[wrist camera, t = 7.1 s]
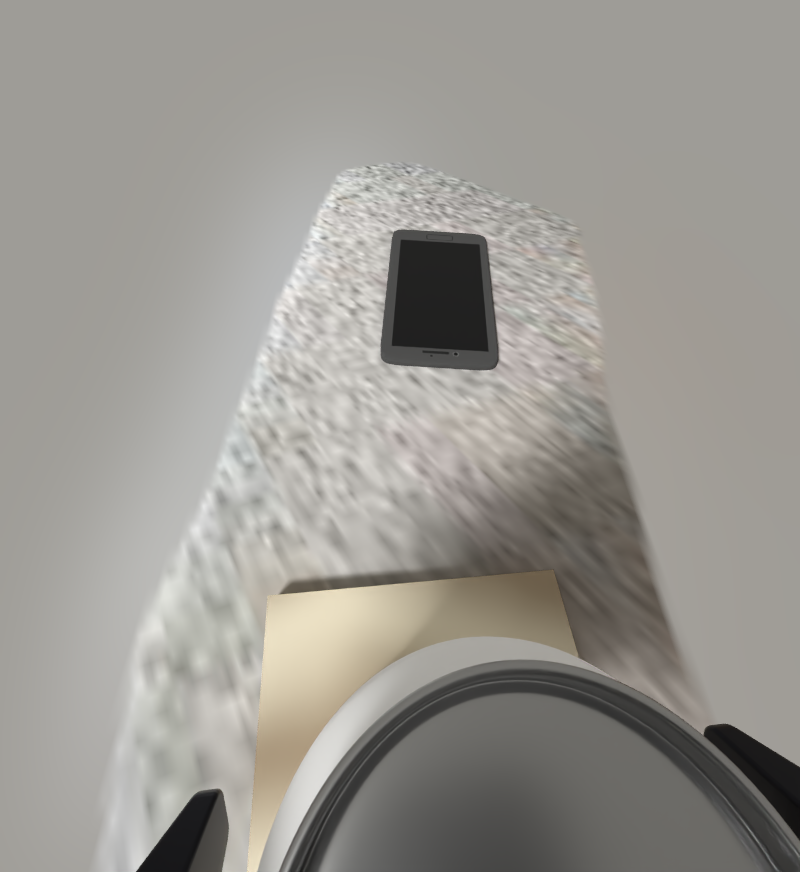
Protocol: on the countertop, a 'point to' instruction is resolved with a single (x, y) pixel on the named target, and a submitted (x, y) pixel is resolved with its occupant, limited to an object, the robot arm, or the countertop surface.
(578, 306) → the countertop surface
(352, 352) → the countertop surface
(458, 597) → the coaster
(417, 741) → the can
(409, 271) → the cell phone
